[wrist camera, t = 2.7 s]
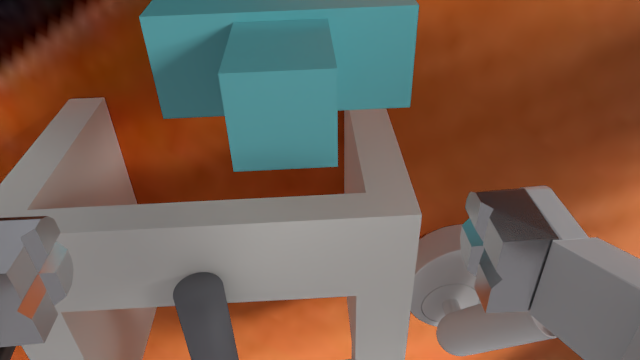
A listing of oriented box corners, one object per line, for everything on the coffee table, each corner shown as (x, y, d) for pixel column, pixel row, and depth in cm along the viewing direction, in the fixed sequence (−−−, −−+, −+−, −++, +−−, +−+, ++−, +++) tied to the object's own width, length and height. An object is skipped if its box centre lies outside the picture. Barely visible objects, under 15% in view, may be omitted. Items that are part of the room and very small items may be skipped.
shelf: (378, 84, 29) (433, 250, 18) (369, 274, 38) (402, 463, 27) (69, 98, 29) (-76, 277, 17) (136, 287, 38) (70, 484, 27)
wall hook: (615, 346, 29) (500, 425, 34) (547, 237, 37) (461, 314, 42) (509, 300, 26) (399, 395, 31) (459, 193, 34) (378, 281, 39)
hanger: (372, -60, 25) (452, 51, 12) (370, 13, 27) (436, 170, 14) (194, -53, 24) (97, 67, 12) (206, 20, 26) (134, 185, 14)
